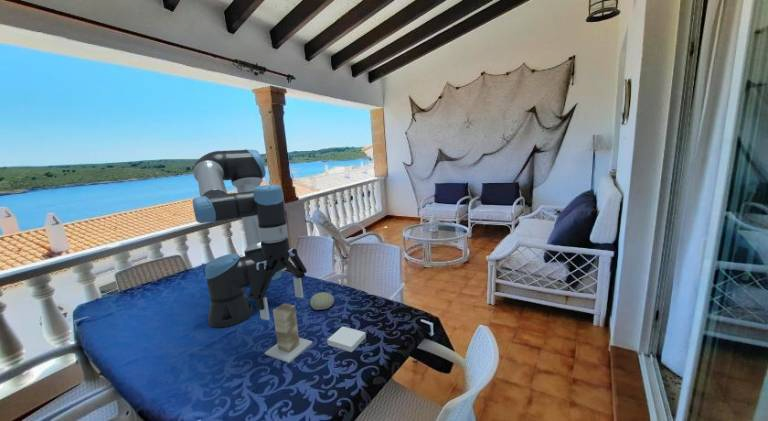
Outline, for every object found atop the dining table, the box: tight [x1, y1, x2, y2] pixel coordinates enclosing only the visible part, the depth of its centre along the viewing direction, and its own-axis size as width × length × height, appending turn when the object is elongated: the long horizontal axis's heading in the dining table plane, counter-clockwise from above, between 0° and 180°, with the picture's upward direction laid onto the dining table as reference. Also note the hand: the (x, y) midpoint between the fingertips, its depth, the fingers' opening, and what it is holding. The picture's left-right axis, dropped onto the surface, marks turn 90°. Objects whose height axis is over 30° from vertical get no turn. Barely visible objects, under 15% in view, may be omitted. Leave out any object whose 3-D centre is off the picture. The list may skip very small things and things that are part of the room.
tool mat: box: [264, 337, 314, 364], centre depth 92 cm, size 10×10×1 cm
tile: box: [326, 325, 367, 353], centre depth 94 cm, size 2×8×9 cm
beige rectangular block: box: [272, 302, 300, 353], centre depth 90 cm, size 4×4×13 cm
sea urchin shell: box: [309, 291, 335, 311], centre depth 117 cm, size 9×8×8 cm
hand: (283, 307), depth 90 cm, fingers open, 13 cm apart
